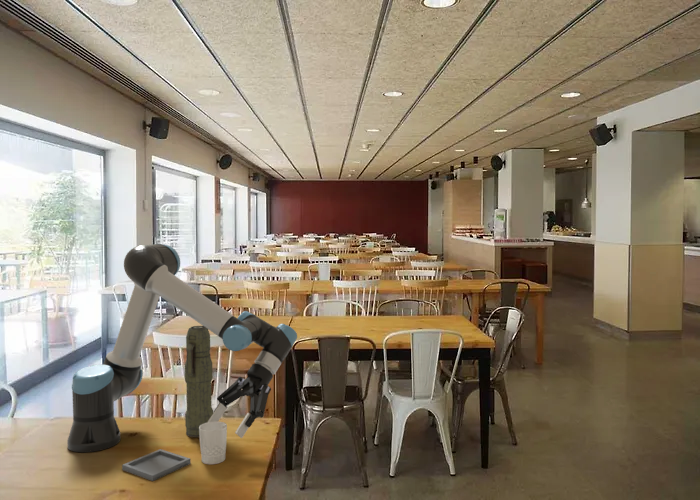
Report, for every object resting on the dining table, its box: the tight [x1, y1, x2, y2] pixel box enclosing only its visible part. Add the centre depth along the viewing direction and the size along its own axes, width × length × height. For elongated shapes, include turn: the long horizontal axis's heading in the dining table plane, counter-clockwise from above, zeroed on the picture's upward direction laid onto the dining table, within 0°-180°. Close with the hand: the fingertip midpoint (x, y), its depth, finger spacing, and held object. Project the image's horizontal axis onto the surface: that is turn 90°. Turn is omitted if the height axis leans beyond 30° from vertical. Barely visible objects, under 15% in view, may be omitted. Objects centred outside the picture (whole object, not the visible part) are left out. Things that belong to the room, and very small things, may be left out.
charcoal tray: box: [121, 448, 192, 482], centre depth 159 cm, size 13×13×2 cm
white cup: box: [199, 420, 228, 465], centre depth 164 cm, size 8×8×10 cm
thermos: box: [184, 325, 214, 438], centre depth 185 cm, size 9×12×35 cm
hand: (224, 429), depth 165 cm, fingers open, 13 cm apart
